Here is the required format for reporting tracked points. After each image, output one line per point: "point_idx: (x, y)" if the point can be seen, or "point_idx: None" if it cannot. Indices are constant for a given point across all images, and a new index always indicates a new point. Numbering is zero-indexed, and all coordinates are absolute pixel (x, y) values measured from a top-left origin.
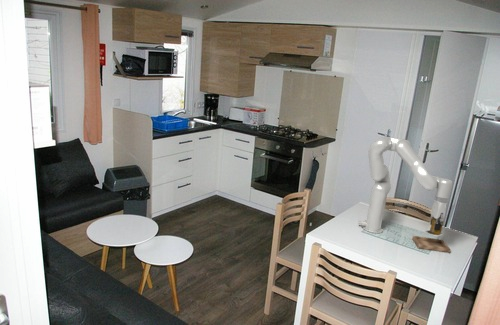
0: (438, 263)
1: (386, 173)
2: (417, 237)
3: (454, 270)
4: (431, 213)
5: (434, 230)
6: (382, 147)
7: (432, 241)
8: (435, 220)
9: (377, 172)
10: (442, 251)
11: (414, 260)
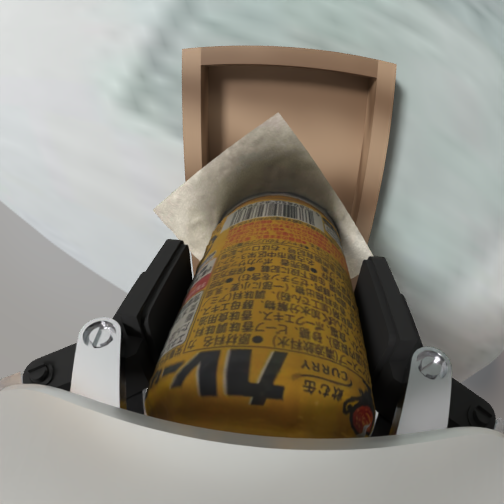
0: (39, 145)
1: None
2: (374, 98)
3: (20, 204)
4: (431, 475)
5: (213, 240)
6: None
7: None
8: (172, 368)
9: None
10: None
11: (31, 22)
